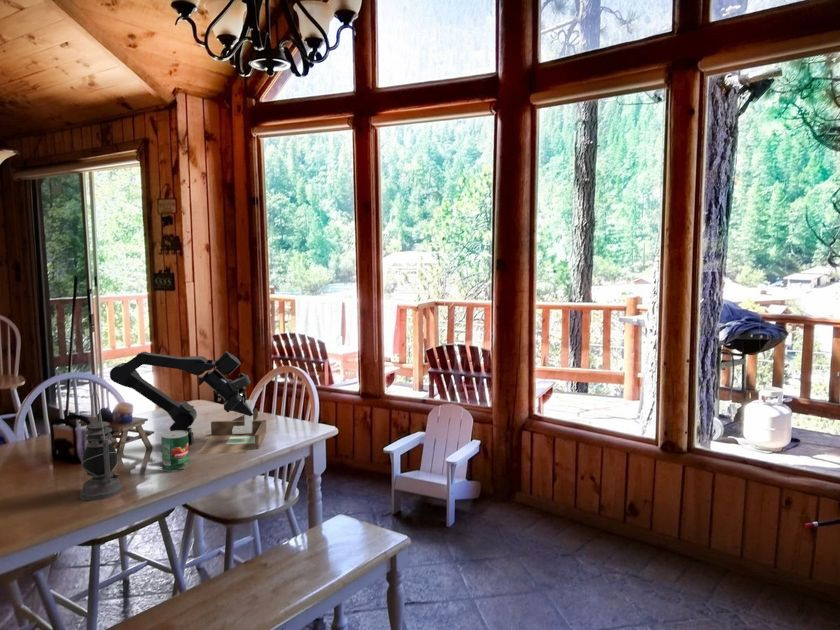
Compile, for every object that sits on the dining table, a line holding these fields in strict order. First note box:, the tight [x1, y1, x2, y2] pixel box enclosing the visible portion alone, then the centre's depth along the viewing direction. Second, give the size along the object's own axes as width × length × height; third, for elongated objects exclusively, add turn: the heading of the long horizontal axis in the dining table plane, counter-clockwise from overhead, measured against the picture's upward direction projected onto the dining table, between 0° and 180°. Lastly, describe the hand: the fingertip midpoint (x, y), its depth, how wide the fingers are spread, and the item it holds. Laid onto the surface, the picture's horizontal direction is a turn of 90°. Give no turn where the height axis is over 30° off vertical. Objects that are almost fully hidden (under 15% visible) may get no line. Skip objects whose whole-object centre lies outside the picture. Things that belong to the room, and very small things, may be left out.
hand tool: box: [231, 407, 259, 421], centre depth 228 cm, size 19×4×5 cm, turn 162°
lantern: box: [79, 389, 123, 501], centre depth 161 cm, size 12×11×30 cm
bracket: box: [232, 399, 254, 434], centre depth 204 cm, size 7×4×11 cm, turn 101°
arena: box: [196, 419, 267, 455], centre depth 202 cm, size 20×21×6 cm
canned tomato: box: [160, 430, 190, 473], centre depth 181 cm, size 8×8×11 cm
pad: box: [226, 436, 255, 444], centre depth 205 cm, size 10×8×1 cm
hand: (252, 413), depth 205 cm, fingers closed on bracket, 4 cm apart
